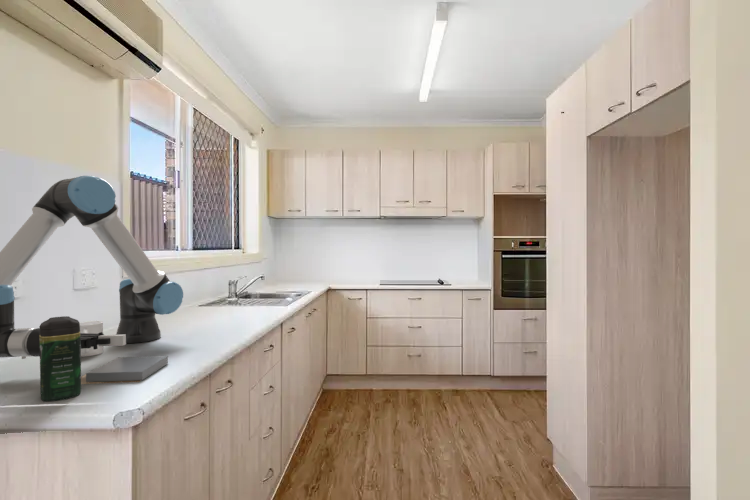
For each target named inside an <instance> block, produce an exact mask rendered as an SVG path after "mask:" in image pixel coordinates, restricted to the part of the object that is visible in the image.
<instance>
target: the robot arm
mask: <svg viewBox="0 0 750 500" xmlns="http://www.w3.org/2000/svg"><path fill="white" fill-rule="evenodd" d="M116 197H117V196H116V192H115V189H114V188H113V186H112V185H111V184H110V183H109V182H108V181H107V180H105V179H103V178H102V177H98V176H93V175H82V176H81V175H80V176H76V177H72V178H71V177H70V178H65V179H60V180H59V181H57V182H55V183H54V184H53V185H51V186H50V187H49V188H48V189H47V190H46V192H45V193H44V194H43V195H42V196H41V197H40V198H39V199H38V201H37V202H36V203H35V204H34V206H33V207H32V208H31V212H32V214H31V215H30V216H29V217H28V219H27V220H26V221H25V222H24V224H22V226H21V227H20V228H19V229H18V230H17V232H16V233H15V234H14V235H13V236H12V238H10V240H9V241H8V242H7V243H6V245H5V246H4V247H3V248H2V249H1V251H0V358H19V357H21V359H22V360H25V359H27V358H28V357H36V358H37V357H40V336H39V335H40V334H39V333H40V329H39V327H37V328H35V327H31V328H30V327H27V328H25V327H24V328H15V299H16V297H15V293H14V287H13V286H12V284H14V282H15V281H16V280H17V278H19V276H20V275H21V273H22V272H23V271H24V270H25V268H26V267H27V266H28V265H29V264H30V262H32V260H33V259H34V257H35V256H36V255H37V254H38V252H39V251H40V250H41V249H42V247H43V246H44V245H45V244H46V242H47V241H48V240H49V239H50V237H52V235H53V234H54V233H55V231H56V230H57V229H58V228H60V227H64V226H65V225H66V224H67V222H68V221H69V220H70V219H71V218H74V217H75V218H76V219H77V220H78V222H79V223H80V224H81V226H82V227H86V228H90V229H91V230H92V232H94V233H95V234H94V235H96V236H97V238H98V239H99V241H100V242H101V243H102V245H103V246H104V247H105V249H106V250H107V251H108V252H109V254H111V256H112V258H113V259H114V260H115V261H116V263H117V264H118V265H119V266H120V267H121V270H123V272H124V273H125V275H126V276H127V277H128V278H126V279H123V280H121V281H120V282H119V289H118V292H119V314H120V315H119V316H120V317H119V318H120V319H119V323H118V327H117V330H116V334H104V333H103V334H102V332H100V333H99V334H94V333H80V338H81V349H83V348H91V347H94V349H97V345H99V346H103V347H112V346H115V347H118V346H120V347H121V346H123V347H124V346H125V345H127V344H137V343H144V342H145V343H146V342H152V341H155V340H159V339H161V336H162V333H161V329H160V327H159V324H158V322H157V319H156V315H162V316H163V315H172V314H173V313H175V312H176V311H177V310H178V309H179V308H180V307H181V305H182V303H183V298H184V290H183V288H182V286H181V285H180V284H179V283H177V282H176V281H172V280H171V281H170V278H168V276H167V274H165V272H164V271H163V270H157V269H156V267H155V266H154V264H153V263H152V261H151V260H150V259H149V257H148V256H147V254H146V253H145V251H144V249H143V248H142V247H141V246H140V244H138V242H137V240H136V239H135V237H134V236H133V234H132V233H131V232H130V230H129V229H128V228H127V226H126V225H125V223H124V222H123V221H122V219H121V218H120V217H119V215H118V211H119V206H118V205H117V203H116Z"/></svg>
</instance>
